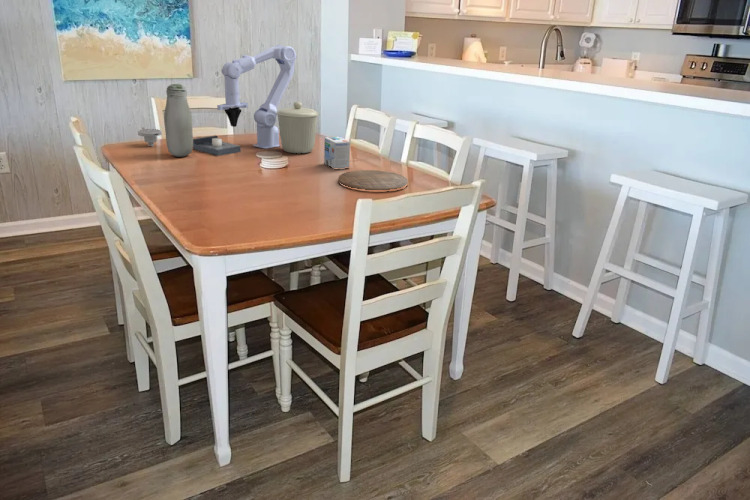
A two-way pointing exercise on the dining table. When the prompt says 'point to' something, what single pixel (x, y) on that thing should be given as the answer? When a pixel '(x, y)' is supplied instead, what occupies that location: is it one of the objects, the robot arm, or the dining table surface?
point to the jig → (206, 146)
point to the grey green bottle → (178, 121)
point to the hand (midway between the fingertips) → (233, 126)
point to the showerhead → (150, 135)
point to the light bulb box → (336, 152)
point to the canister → (297, 128)
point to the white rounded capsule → (216, 142)
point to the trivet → (372, 180)
